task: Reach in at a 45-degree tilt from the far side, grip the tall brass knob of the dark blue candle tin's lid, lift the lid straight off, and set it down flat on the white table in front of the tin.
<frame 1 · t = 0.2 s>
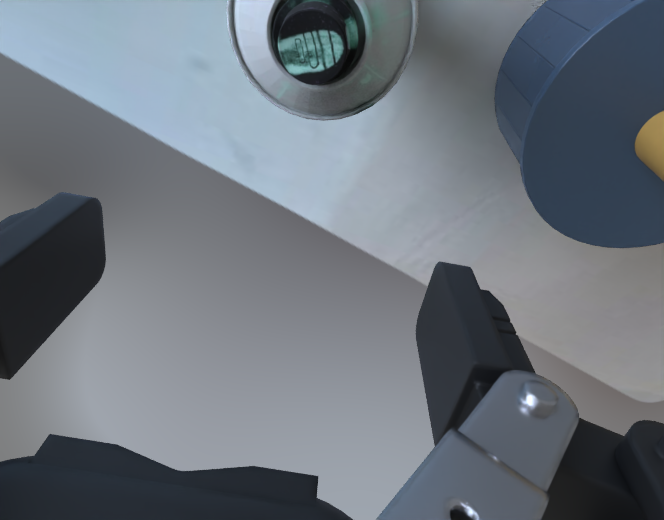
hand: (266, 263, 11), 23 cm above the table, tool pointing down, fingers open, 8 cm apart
tin: (595, 81, 30), on the table
lid: (661, 131, 23), point 8 cm above the table, touching tin
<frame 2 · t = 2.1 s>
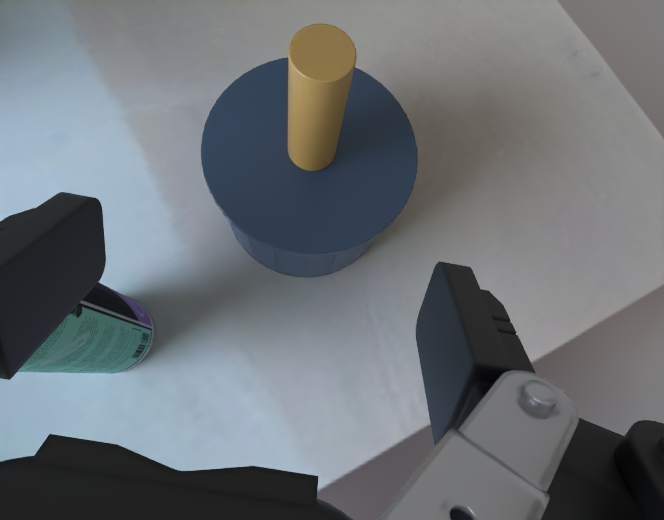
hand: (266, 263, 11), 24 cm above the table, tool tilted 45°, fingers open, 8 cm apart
tin: (305, 201, 38), on the table
lid: (311, 153, 29), point 8 cm above the table, touching tin
spray can: (117, 335, 34), on the table
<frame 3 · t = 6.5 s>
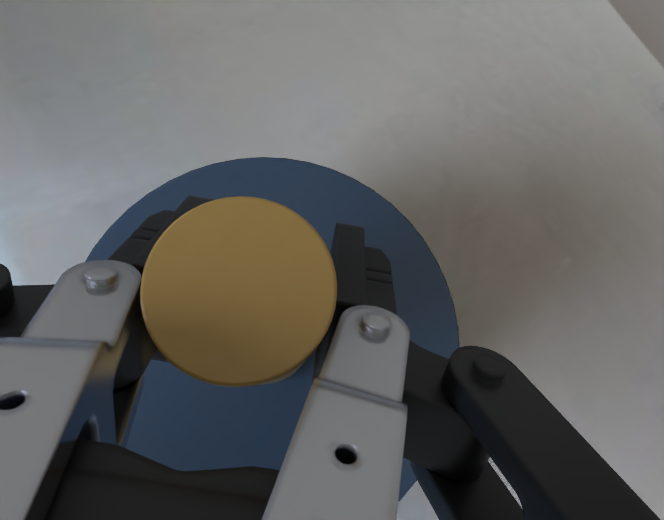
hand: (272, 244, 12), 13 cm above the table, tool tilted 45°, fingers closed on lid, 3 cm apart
lid: (267, 339, 16), point 8 cm above the table, touching gripper, tin
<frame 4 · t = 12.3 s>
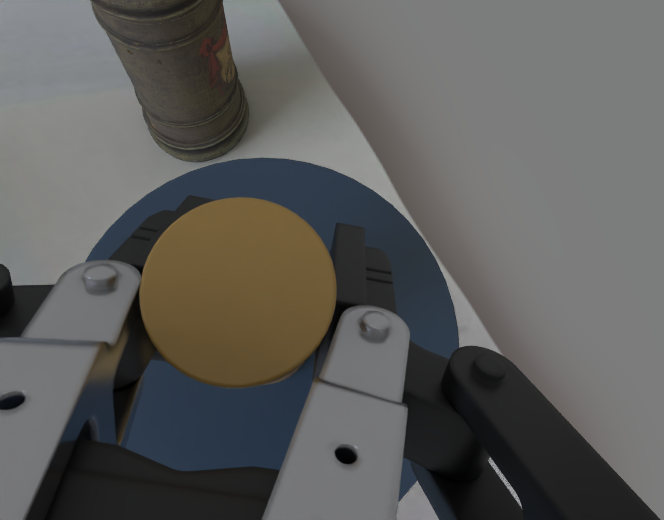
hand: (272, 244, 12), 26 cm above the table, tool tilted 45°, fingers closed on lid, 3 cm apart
lid: (266, 340, 16), point 21 cm above the table, touching gripper
container: (199, 118, 42), on the table
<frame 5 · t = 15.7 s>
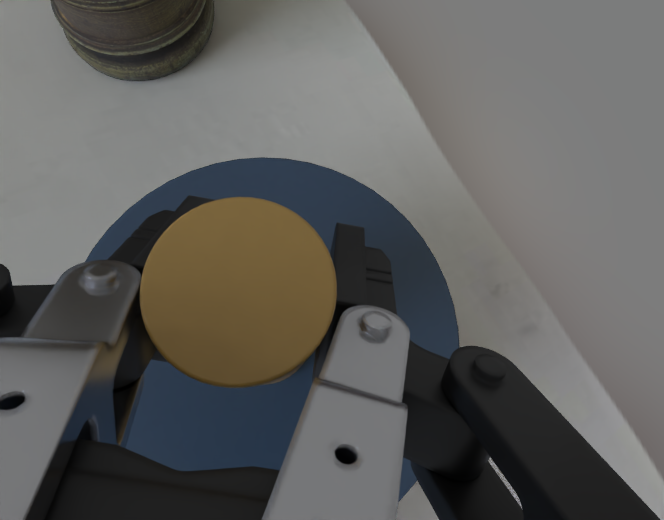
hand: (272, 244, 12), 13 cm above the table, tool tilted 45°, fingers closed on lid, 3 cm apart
lid: (267, 340, 16), point 8 cm above the table, touching gripper
container: (143, 21, 29), on the table
when the fingers open (6 cm above the table, at t = 18.1 s): lid stays where it is, point 1 cm above the table.
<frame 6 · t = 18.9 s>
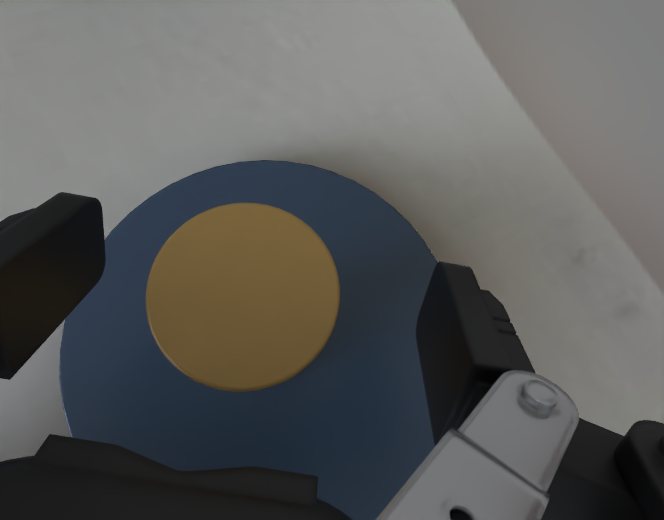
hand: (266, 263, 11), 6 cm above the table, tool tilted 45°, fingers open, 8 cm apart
lid: (269, 341, 16), point 1 cm above the table
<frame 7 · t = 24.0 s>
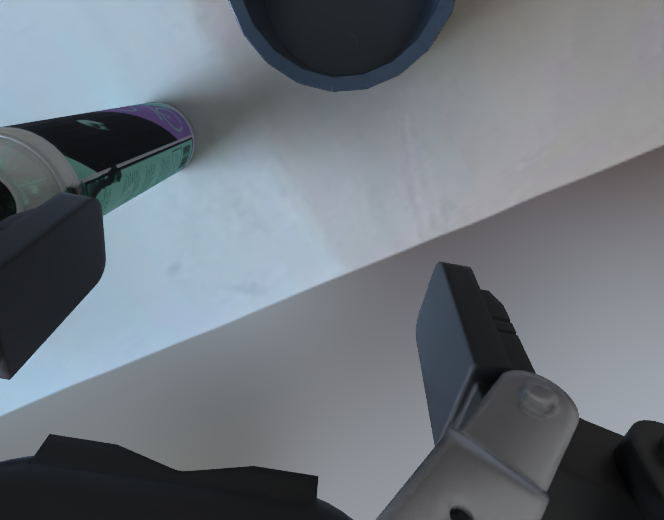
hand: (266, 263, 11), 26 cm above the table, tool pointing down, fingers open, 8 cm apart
spray can: (162, 138, 36), on the table
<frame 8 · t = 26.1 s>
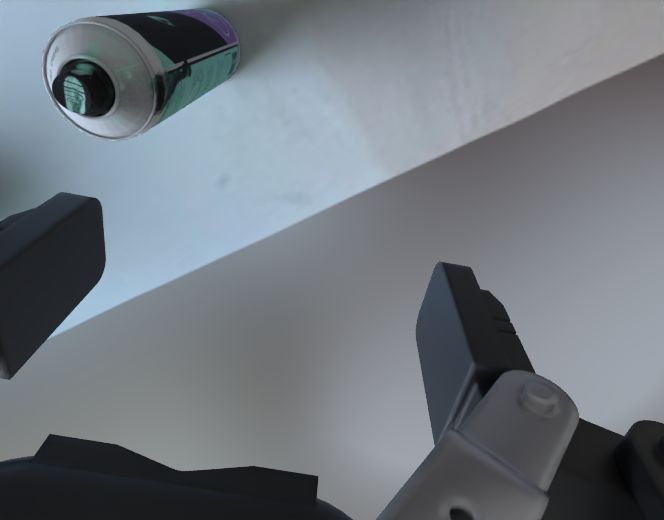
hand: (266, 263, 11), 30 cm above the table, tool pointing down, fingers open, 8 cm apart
spray can: (207, 47, 37), on the table
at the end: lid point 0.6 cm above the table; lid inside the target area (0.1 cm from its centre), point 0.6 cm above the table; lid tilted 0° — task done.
